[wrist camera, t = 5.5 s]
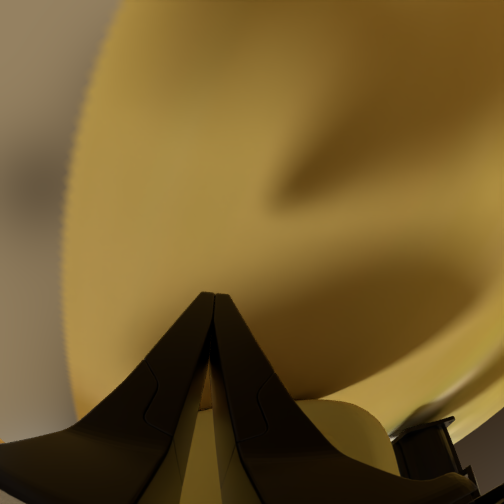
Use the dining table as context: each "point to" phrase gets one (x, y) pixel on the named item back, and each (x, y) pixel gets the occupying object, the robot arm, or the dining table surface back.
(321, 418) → the plastic component
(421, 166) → the dining table surface
